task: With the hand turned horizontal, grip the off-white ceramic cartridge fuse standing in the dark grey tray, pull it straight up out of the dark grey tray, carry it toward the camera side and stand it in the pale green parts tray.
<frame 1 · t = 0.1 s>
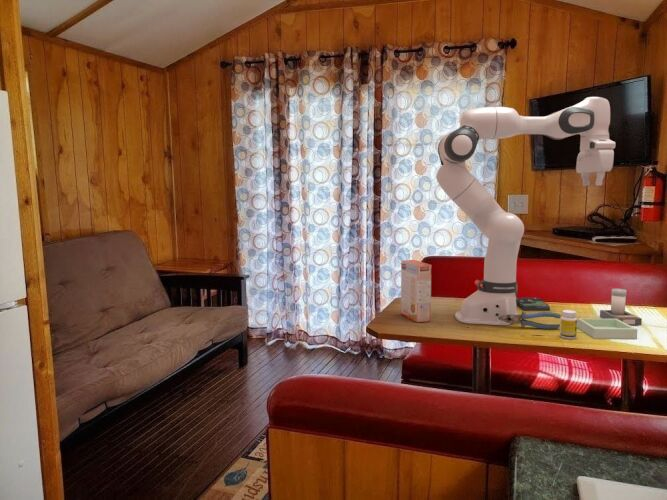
hand: (592, 185, 174), 48 cm above the table, tool pointing down, fingers open, 8 cm apart
parts tray: (605, 332, 163), on the table
supplement bottle: (567, 337, 159), on the table
cracker box: (415, 318, 185), on the table
disk drive: (530, 308, 201), on the table
dark grey tray: (617, 319, 180), on the table
pliers: (528, 329, 170), on the table
fuse: (618, 304, 179), in the dark grey tray
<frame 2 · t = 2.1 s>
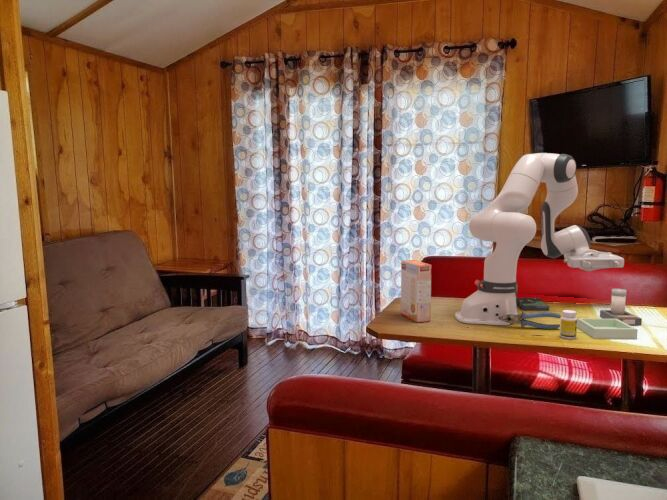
hand: (604, 265, 189), 18 cm above the table, tool horizontal, fingers open, 8 cm apart
nothing on the table moved.
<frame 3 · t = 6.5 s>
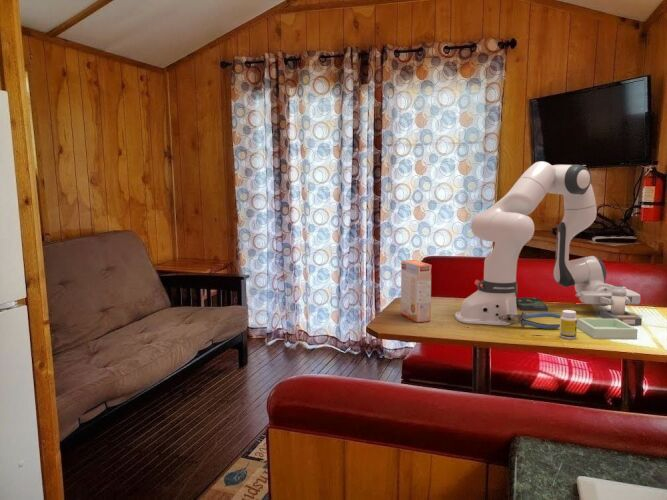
hand: (619, 302, 178), 7 cm above the table, tool horizontal, fingers closed on fuse, 4 cm apart
fuse: (618, 304, 179), in the dark grey tray, touching gripper
everything else where it was.
when the fingers open (9 cm above the table, at t = 11.7 s): fuse drops 1 cm, resting on parts tray.
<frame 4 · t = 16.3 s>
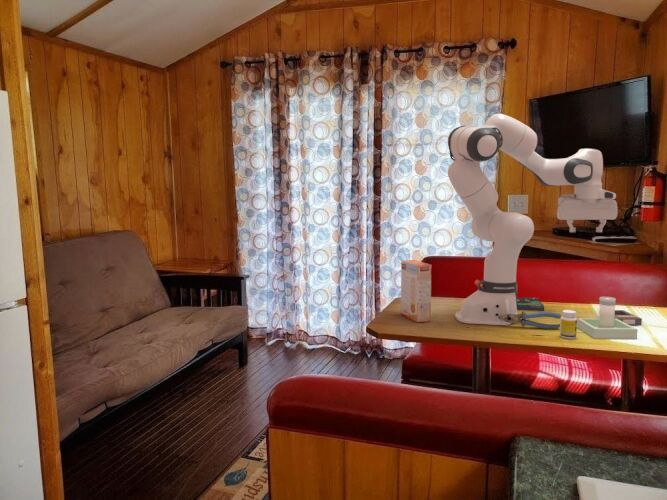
hand: (585, 232, 182), 31 cm above the table, tool pointing down, fingers open, 8 cm apart
fuse: (606, 314, 163), in the parts tray, point 6 cm above the table
at the end: fuse inside the target area on the parts tray (0.1 cm from its centre), point 6.1 cm above the parts tray's base; fuse tilted 0°; the gripper is holding nothing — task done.
